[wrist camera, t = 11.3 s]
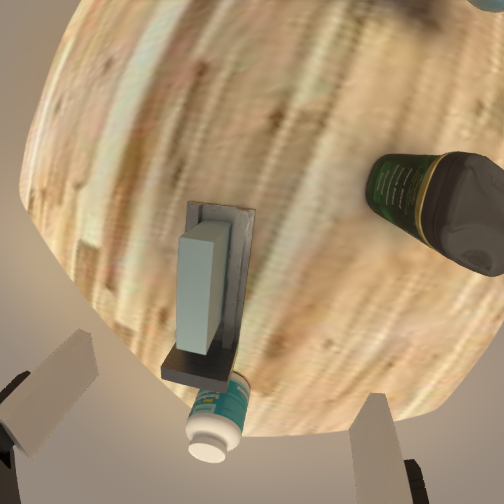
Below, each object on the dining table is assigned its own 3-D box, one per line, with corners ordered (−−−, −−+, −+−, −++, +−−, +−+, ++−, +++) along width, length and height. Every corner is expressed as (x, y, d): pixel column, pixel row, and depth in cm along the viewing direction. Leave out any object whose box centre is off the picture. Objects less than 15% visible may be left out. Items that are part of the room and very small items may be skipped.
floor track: (189, 201, 34) (159, 212, 26) (255, 209, 33) (245, 223, 25) (182, 341, 40) (161, 378, 32) (237, 352, 39) (225, 393, 31)
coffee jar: (356, 208, 32) (427, 255, 14) (377, 145, 30) (467, 129, 12) (422, 236, 32) (515, 297, 14) (442, 178, 29) (549, 198, 12)
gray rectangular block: (205, 219, 34) (178, 237, 25) (232, 222, 34) (213, 242, 25) (199, 310, 37) (176, 348, 29) (223, 314, 37) (205, 355, 28)
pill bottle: (222, 359, 40) (198, 429, 27) (260, 386, 41) (250, 457, 28) (194, 384, 42) (167, 447, 29) (230, 408, 43) (214, 473, 30)
